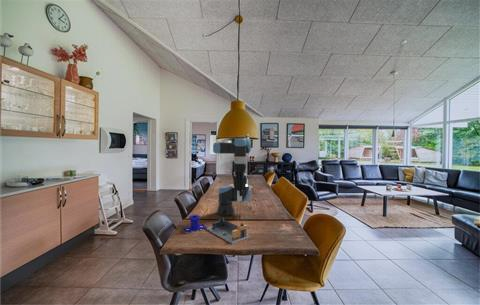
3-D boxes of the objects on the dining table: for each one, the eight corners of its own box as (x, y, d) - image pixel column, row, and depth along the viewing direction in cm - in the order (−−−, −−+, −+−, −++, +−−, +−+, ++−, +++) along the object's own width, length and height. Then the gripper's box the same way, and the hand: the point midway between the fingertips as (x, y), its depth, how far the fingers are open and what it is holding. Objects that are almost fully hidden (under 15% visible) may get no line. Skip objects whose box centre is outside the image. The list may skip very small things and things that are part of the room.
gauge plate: (206, 229, 145) (206, 219, 145) (222, 224, 154) (222, 215, 154) (232, 244, 124) (232, 232, 124) (249, 237, 134) (249, 226, 133)
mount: (202, 225, 153) (202, 213, 152) (206, 229, 147) (206, 216, 146) (182, 229, 145) (182, 217, 144) (185, 233, 138) (185, 220, 138)
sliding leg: (230, 237, 129) (230, 225, 129) (243, 232, 136) (243, 221, 136) (234, 239, 127) (234, 227, 127) (246, 234, 134) (246, 223, 134)
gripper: (228, 163, 134) (228, 199, 134) (242, 164, 124) (242, 203, 125) (237, 162, 139) (237, 198, 139) (251, 163, 129) (251, 202, 129)
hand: (239, 200), depth 132 cm, fingers closed
